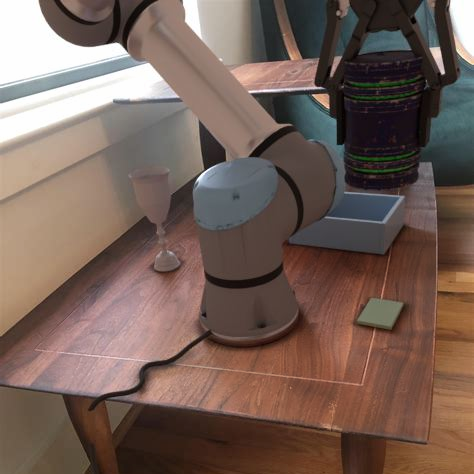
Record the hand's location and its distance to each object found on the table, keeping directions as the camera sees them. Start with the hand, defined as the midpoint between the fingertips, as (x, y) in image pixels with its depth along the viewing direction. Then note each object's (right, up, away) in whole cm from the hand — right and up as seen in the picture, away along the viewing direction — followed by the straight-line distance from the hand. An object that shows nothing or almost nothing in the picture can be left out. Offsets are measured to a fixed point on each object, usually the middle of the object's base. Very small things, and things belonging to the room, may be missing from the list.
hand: (382, 143), depth 71 cm
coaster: (+3, -22, +11) cm, 25 cm away
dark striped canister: (+1, -4, +3) cm, 5 cm away
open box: (+3, -6, +36) cm, 37 cm away
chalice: (-32, -13, +34) cm, 48 cm away
